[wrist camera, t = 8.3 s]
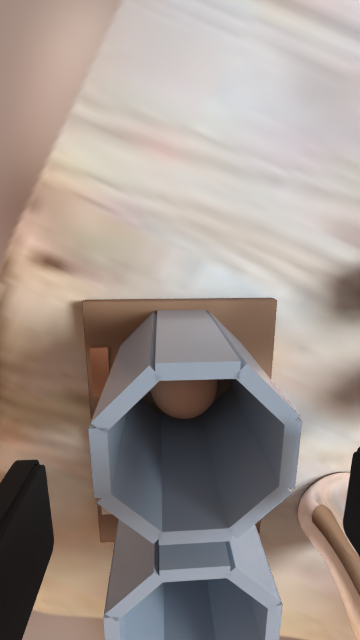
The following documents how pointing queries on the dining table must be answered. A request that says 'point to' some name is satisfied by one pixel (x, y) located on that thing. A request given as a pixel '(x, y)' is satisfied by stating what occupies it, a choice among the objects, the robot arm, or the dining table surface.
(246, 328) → the rack board
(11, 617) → the robot arm
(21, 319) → the dining table surface
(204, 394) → the terracotta ball
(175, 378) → the tubes
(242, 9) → the dining table surface
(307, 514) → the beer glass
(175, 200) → the dining table surface
